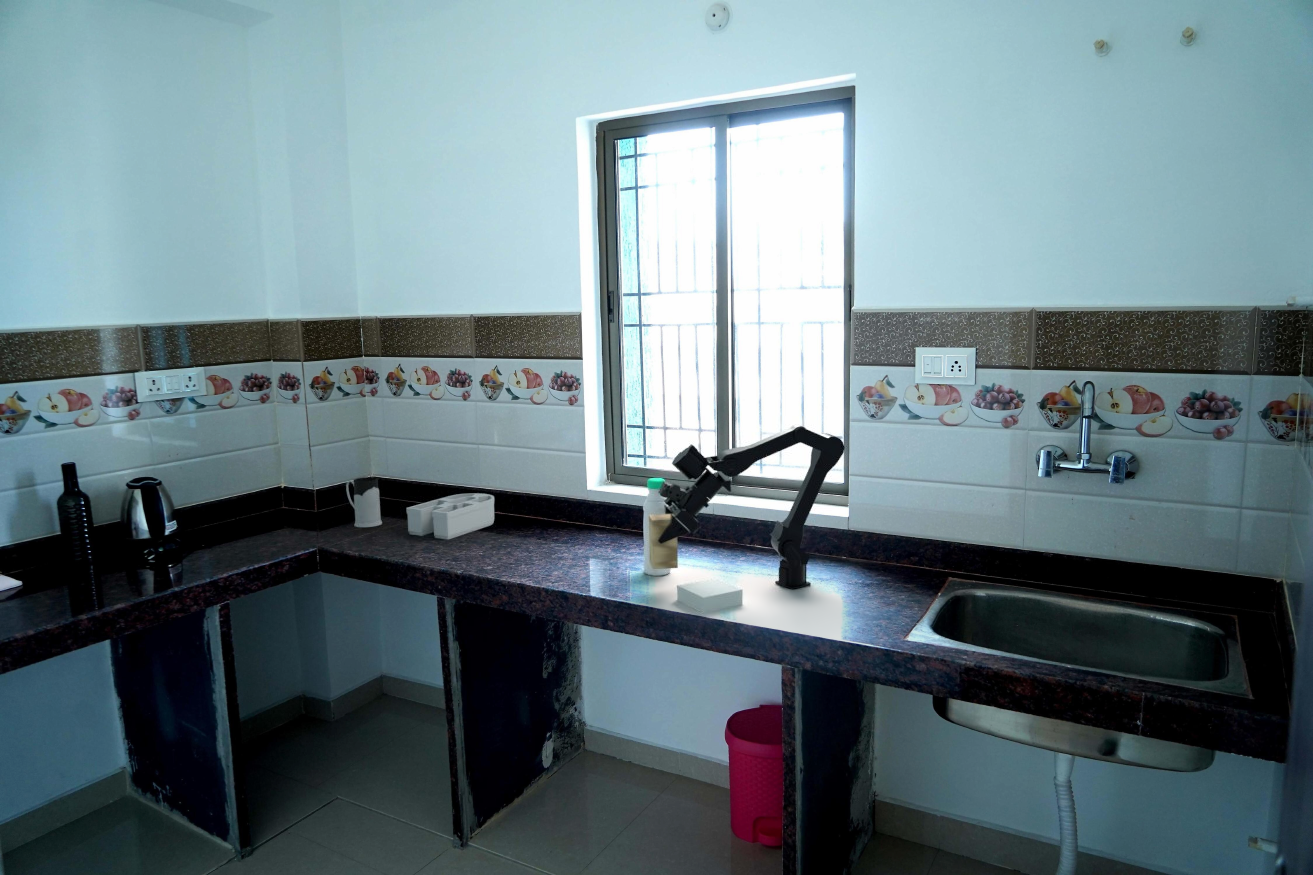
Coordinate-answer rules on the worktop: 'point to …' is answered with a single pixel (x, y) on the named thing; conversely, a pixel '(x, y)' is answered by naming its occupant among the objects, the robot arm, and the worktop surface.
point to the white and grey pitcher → (366, 502)
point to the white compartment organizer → (451, 515)
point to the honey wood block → (667, 551)
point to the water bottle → (650, 507)
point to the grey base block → (709, 595)
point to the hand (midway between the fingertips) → (657, 538)
